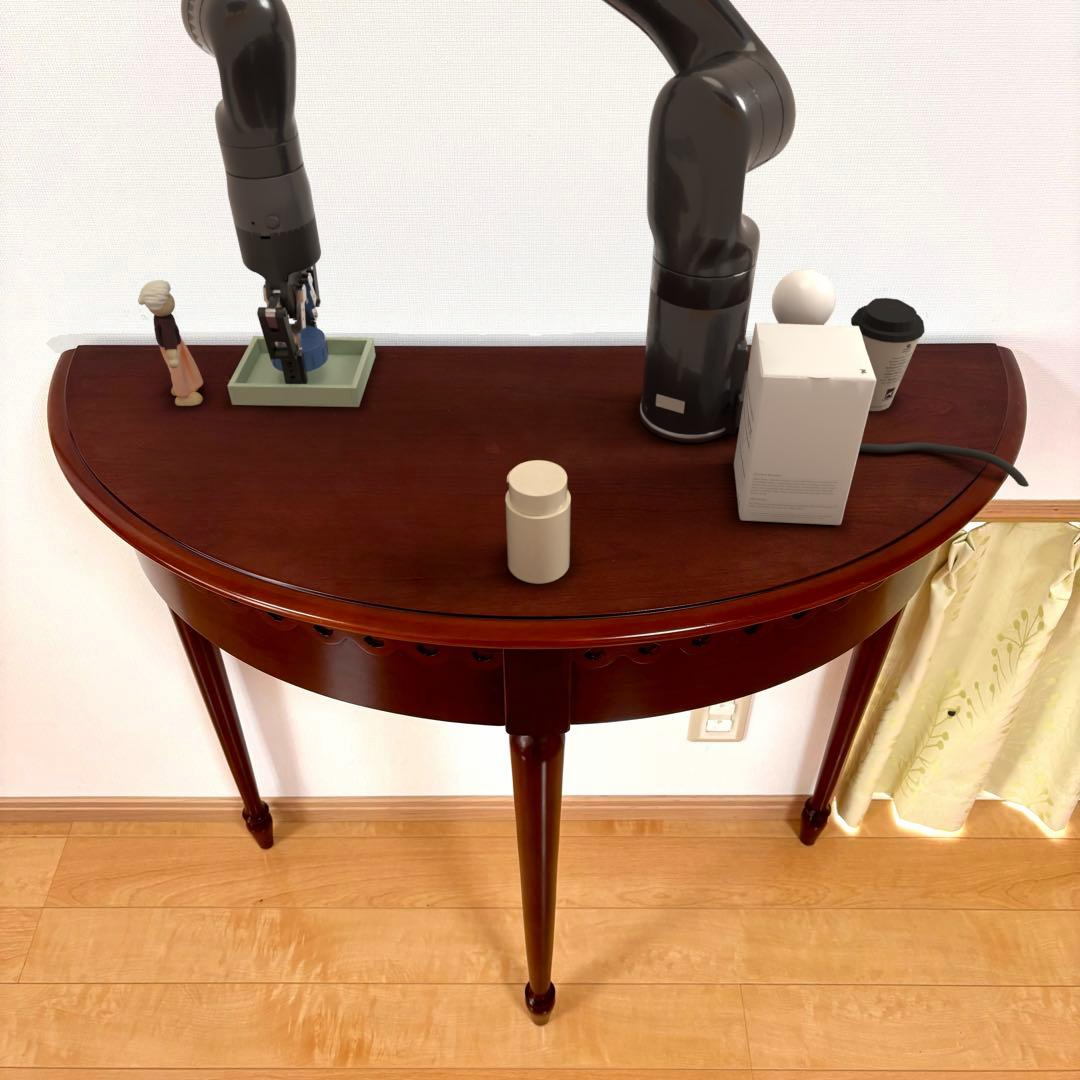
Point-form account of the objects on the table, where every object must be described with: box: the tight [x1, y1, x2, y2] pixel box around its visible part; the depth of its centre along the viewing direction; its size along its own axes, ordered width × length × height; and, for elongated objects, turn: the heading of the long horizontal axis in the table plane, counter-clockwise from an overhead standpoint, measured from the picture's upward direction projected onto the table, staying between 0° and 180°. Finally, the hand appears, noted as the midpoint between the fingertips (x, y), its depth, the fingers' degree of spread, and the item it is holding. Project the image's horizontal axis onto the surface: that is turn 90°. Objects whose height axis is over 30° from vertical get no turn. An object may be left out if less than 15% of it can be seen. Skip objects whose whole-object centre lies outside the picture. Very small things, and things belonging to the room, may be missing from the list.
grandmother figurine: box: [137, 279, 204, 407], centre depth 96 cm, size 8×4×13 cm, turn 34°
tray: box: [226, 335, 377, 408], centre depth 102 cm, size 13×10×2 cm
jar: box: [504, 459, 572, 585], centre depth 78 cm, size 5×5×9 cm
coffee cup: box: [850, 297, 926, 412], centre depth 96 cm, size 7×7×10 cm
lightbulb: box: [771, 268, 837, 325], centre depth 100 cm, size 6×6×11 cm
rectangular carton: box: [733, 321, 876, 526], centre depth 82 cm, size 9×9×15 cm
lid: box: [270, 326, 329, 372], centre depth 100 cm, size 6×6×2 cm
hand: (304, 368), depth 101 cm, fingers closed on lid, 5 cm apart
